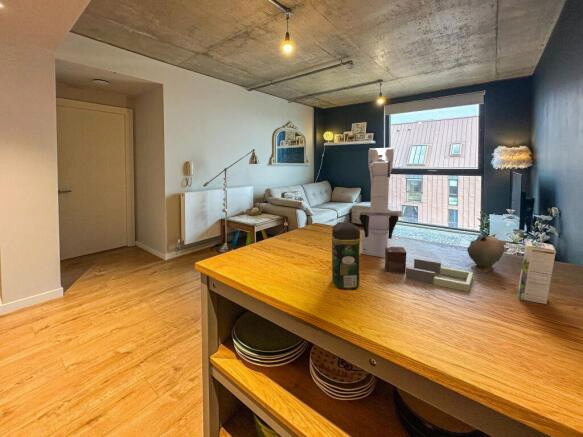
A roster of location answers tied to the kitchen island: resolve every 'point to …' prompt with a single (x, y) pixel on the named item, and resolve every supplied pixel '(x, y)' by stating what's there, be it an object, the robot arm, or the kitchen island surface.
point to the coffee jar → (345, 255)
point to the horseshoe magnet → (427, 270)
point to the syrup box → (536, 272)
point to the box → (395, 260)
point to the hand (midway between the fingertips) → (378, 237)
